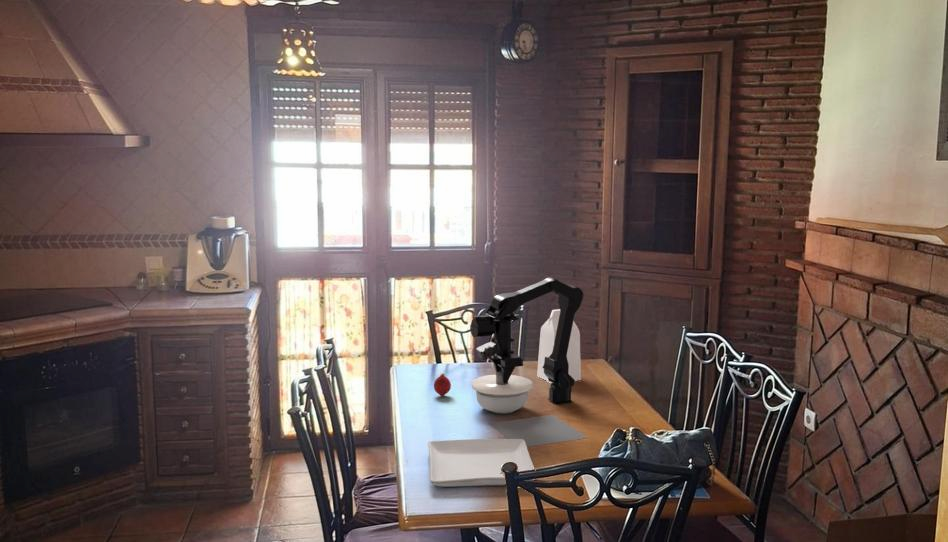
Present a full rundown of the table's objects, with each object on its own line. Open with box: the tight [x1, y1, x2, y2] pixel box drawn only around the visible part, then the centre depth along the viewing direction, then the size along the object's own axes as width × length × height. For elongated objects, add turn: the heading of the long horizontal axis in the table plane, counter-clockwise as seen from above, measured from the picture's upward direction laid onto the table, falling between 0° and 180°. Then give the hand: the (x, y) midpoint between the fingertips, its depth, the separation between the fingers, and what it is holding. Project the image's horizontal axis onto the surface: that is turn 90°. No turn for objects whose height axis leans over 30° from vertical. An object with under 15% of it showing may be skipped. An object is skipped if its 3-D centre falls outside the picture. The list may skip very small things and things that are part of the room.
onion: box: [433, 372, 452, 397], centre depth 280 cm, size 6×6×8 cm
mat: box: [489, 414, 588, 448], centre depth 247 cm, size 22×22×1 cm
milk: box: [536, 308, 582, 384], centre depth 300 cm, size 12×12×26 cm
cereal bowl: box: [475, 390, 529, 414], centre depth 266 cm, size 17×17×7 cm
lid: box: [470, 371, 534, 395], centre depth 265 cm, size 20×20×4 cm
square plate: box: [427, 438, 536, 488], centre depth 218 cm, size 27×27×4 cm
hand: (502, 381), depth 265 cm, fingers closed on lid, 4 cm apart
